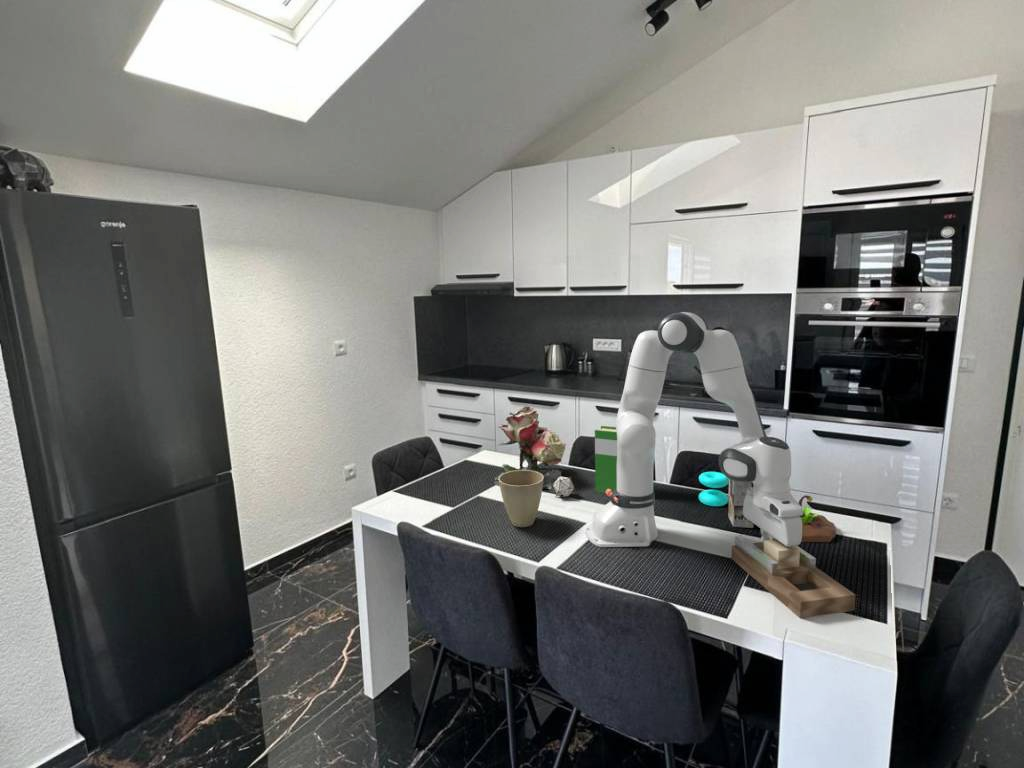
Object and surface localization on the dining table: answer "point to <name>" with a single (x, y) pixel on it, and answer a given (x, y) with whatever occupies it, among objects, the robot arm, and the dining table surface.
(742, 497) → the coffee box
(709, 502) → the donuts
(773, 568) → the lane walls
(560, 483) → the game die
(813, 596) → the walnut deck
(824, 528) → the plant
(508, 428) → the rose bouquet
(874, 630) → the dining table surface
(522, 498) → the plant pot
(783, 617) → the dining table surface
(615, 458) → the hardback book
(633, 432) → the robot arm
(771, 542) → the maple block
